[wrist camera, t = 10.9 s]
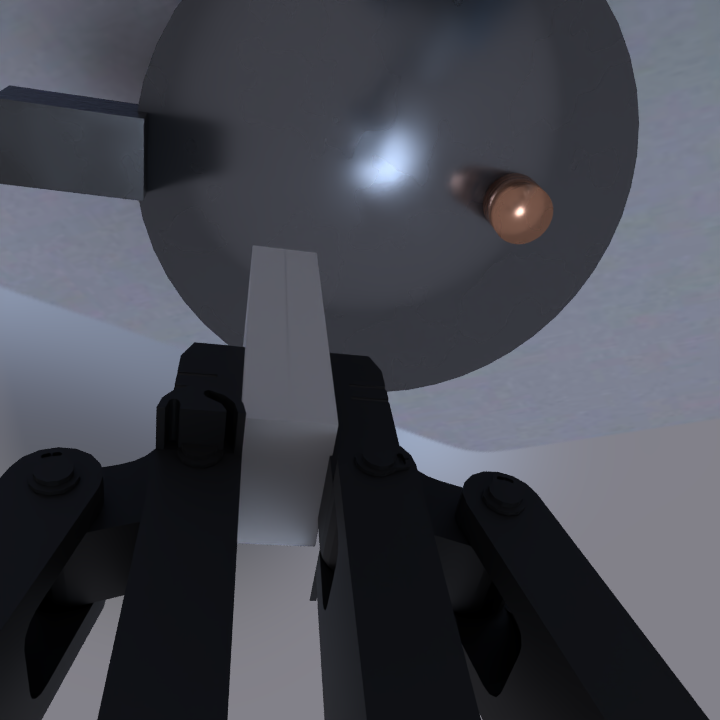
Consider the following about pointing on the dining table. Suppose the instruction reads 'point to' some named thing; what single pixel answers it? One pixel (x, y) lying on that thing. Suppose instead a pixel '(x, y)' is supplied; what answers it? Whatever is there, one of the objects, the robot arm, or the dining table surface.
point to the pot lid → (365, 163)
